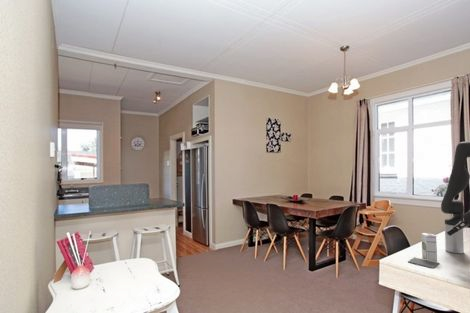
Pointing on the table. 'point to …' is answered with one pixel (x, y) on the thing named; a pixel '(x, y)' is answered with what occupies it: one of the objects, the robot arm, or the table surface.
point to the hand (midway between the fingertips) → (450, 233)
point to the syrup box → (429, 246)
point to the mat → (424, 262)
